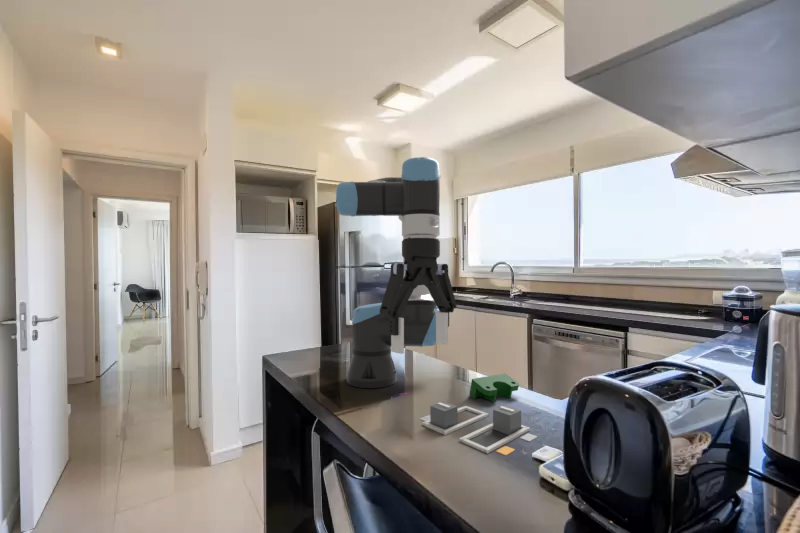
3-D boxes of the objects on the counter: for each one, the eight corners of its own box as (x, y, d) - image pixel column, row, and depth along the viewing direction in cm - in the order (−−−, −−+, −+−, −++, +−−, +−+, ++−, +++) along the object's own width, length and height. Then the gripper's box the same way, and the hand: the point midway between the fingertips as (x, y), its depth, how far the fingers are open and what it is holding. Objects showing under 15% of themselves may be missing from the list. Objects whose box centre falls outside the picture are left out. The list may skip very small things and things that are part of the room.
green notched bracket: (487, 422, 93) (481, 394, 90) (472, 409, 99) (466, 382, 95) (523, 398, 97) (518, 371, 94) (507, 386, 103) (502, 360, 99)
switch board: (407, 425, 81) (407, 418, 81) (460, 405, 93) (460, 398, 93) (503, 469, 63) (503, 460, 63) (554, 437, 75) (554, 429, 75)
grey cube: (493, 429, 77) (492, 408, 77) (504, 423, 79) (504, 403, 79) (510, 435, 74) (510, 413, 74) (521, 430, 76) (521, 408, 76)
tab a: (430, 424, 79) (430, 404, 79) (443, 419, 81) (443, 400, 81) (444, 431, 76) (444, 409, 76) (457, 425, 78) (457, 405, 78)
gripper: (386, 232, 64) (386, 361, 63) (473, 240, 80) (473, 342, 79) (360, 235, 69) (360, 353, 69) (446, 242, 85) (446, 337, 85)
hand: (421, 347), depth 74 cm, fingers open, 12 cm apart
